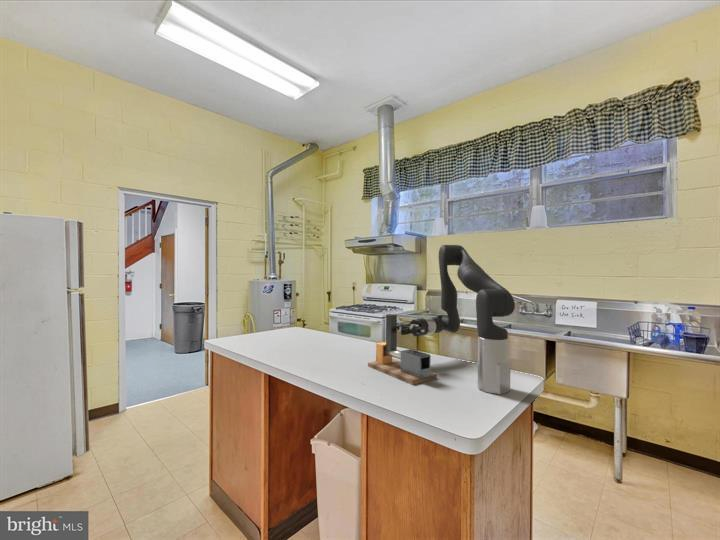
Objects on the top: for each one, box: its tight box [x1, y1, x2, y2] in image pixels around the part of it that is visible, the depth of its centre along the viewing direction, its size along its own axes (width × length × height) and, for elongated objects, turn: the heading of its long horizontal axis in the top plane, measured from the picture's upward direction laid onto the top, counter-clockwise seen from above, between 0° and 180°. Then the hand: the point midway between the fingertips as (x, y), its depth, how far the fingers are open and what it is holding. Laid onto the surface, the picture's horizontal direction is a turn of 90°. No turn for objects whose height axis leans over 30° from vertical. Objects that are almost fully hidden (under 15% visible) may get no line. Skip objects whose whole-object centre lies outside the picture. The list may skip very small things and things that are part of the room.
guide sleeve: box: [400, 348, 431, 379], centre depth 118 cm, size 10×5×8 cm, turn 35°
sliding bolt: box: [383, 313, 402, 360], centre depth 126 cm, size 18×3×16 cm, turn 35°
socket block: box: [375, 341, 393, 364], centre depth 133 cm, size 4×5×8 cm
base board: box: [367, 358, 438, 386], centre depth 124 cm, size 26×12×2 cm, turn 35°
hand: (394, 330), depth 130 cm, fingers open, 8 cm apart
